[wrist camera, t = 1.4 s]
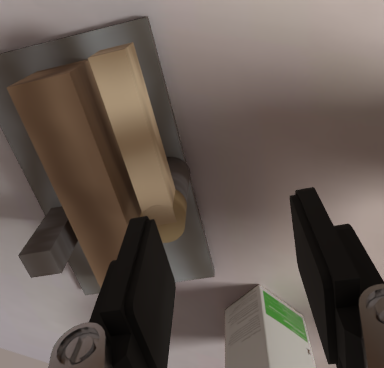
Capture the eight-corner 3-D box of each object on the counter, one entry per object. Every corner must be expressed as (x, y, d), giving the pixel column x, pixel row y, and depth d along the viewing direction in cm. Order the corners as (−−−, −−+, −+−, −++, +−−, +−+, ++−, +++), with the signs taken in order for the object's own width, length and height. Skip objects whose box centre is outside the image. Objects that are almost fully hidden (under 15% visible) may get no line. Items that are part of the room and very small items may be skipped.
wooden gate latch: (151, 15, 30) (132, 27, 23) (216, 270, 43) (218, 331, 36) (-26, 60, 32) (-96, 84, 25) (87, 289, 45) (63, 350, 38)
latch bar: (191, 219, 31) (189, 239, 29) (151, 225, 32) (146, 245, 30) (141, 40, 25) (134, 46, 22) (91, 52, 25) (78, 60, 23)
